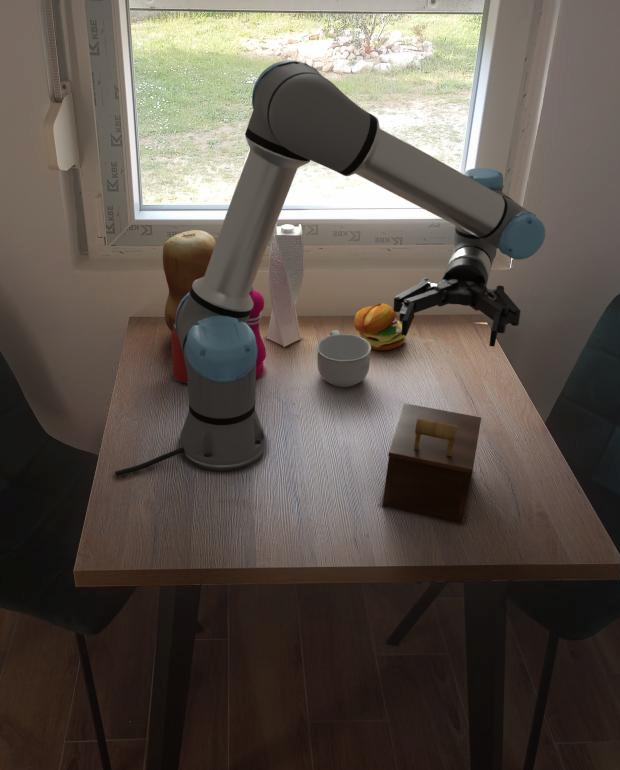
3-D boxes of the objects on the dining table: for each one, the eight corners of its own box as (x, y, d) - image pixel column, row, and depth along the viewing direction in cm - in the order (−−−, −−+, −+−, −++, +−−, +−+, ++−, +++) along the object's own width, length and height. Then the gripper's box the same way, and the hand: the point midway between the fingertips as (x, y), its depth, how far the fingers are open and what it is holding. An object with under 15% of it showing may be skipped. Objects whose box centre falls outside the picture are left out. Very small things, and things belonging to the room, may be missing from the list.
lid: (472, 473, 120) (478, 440, 116) (388, 456, 123) (392, 423, 120) (480, 421, 132) (486, 389, 128) (403, 406, 135) (407, 375, 132)
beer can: (192, 388, 159) (191, 335, 153) (166, 378, 162) (163, 327, 156) (211, 374, 164) (210, 322, 158) (185, 365, 167) (183, 314, 161)
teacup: (370, 394, 158) (373, 359, 154) (316, 392, 159) (318, 358, 154) (363, 359, 170) (366, 326, 166) (313, 358, 170) (315, 325, 166)
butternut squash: (165, 326, 182) (160, 222, 168) (224, 324, 183) (223, 220, 170) (166, 356, 170) (160, 247, 157) (229, 354, 171) (228, 245, 158)
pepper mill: (271, 367, 167) (273, 280, 156) (256, 383, 161) (258, 294, 151) (240, 359, 169) (240, 273, 159) (224, 375, 164) (224, 287, 153)
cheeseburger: (410, 353, 172) (404, 313, 167) (361, 362, 174) (354, 323, 169) (403, 330, 181) (397, 292, 176) (357, 339, 182) (349, 301, 177)
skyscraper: (258, 337, 178) (261, 218, 163) (281, 327, 182) (286, 209, 167) (284, 350, 173) (289, 228, 158) (307, 339, 177) (314, 219, 163)
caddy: (461, 524, 126) (472, 470, 121) (382, 506, 130) (389, 453, 124) (470, 473, 137) (480, 421, 132) (396, 458, 141) (403, 407, 135)
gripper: (537, 303, 138) (528, 364, 122) (395, 288, 146) (368, 344, 130) (543, 263, 134) (534, 321, 118) (397, 250, 142) (369, 302, 125)
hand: (447, 333), depth 124 cm, fingers open, 13 cm apart
